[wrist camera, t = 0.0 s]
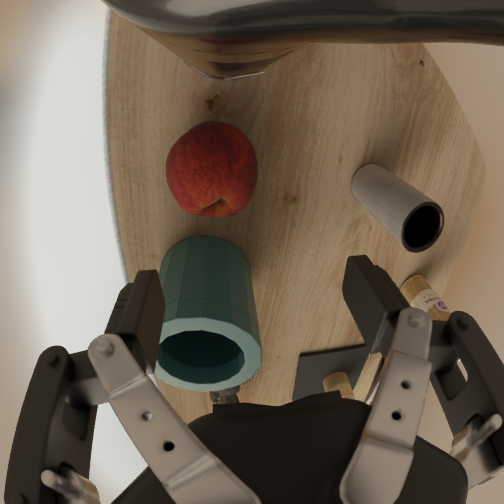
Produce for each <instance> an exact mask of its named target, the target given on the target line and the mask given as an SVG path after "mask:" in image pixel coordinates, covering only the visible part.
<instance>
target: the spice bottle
mask: <svg viewBox="0 0 504 504" xmlns="http://www.w3.org/2000/svg"><path fill="white" fill-rule="evenodd" d="M400 291H401V293H402V294H403V296H404V297H405V298H406V300H407V301H408V303H409V304H410V306H411V307H415V308H419V309H421V310H423V311H425V312H426V313H427V314H428V315H429V316H430V317H431V319H432V320H440V321H447V320H448V318H449V316H450V314H451V313H450V311H449V309H448V308H447V307H446V305H445V304H444V302H443V301H442V300H441V298H440V297H439V296H438V295H437V293H436V292H435V291H434V290H433V289H432V288H431V286H430V285H429V284H428V283H427V281H426V279H425V278H424V277H423V276H422V275H414V276H412V277H410V278H408V279H407V280H406V281H405V282H404V284H403V285H402V287H401V290H400ZM459 361H460V359H459V360H458V362H459Z"/></svg>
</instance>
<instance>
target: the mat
mask: <svg viewBox="0 0 504 504" xmlns="http://www.w3.org/2000/svg"><path fill="white" fill-rule="evenodd" d="M368 354H369V350H368V347H367V345H366V344H362V345H357V346H351V347H346V348H340V349H334V350H327V351H321V352H314V353H307V354H300V355H299V361H298V367H297V374H296V380H295V386H294V392H293V398H292V400H293V401H295V400H298V399H301V398H303V397H306V396H308V395H312V394H318V393H324V392H325V389H324V386H323V380H324V378H325V377H327V376H328V375H330V374H332V373H335V372H345V373H346V374H347V377H348V380H349V383H350V385H351V388H352V391H353V389H354V387H355V385H356V382H357V380H358V378H359V376H360V373H361V371H362V369H363V366H364V364H365V362H366V359H367V357H368Z"/></svg>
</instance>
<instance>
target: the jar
mask: <svg viewBox="0 0 504 504" xmlns="http://www.w3.org/2000/svg"><path fill="white" fill-rule="evenodd" d="M159 279H160V283H161V287H162V291H163V295H164V299H165V316H164V321H163V327H162V332H161V338H160V343H159V349H158V355H157V361H156V368H155V374H154V375H155V376H156V377H158V378H159V379H160V380H162V381H164V382H166V383H168V384H171V385H173V386H175V387H179V388H183V389H188V390H194V391H219V390H224V389H227V388H231V387H234V386H238V385H240V384H241V383H243V382H245V381H246V380H248V379H249V378H251V377H253V375H254V374H255V372H256V371H257V369H258V368H259V367H260V365H261V363H262V348H261V341H260V334H259V327H258V321H257V314H256V307H255V301H254V294H253V287H252V280H251V273H250V268H249V266H248V262H247V260H246V258H245V257H244V255H243V254H242V252H241V251H240V250H239V249H238V248H237V247H235V246H234V245H233V244H231V243H230V242H228V241H226V240H223V239H220V238H217V237H212V236H196V237H191V238H187V239H185V240H182V241H180V242H179V243H177V244H176V245H174V246H173V247H172V248H171V249H170V250H169V251H168V252H167V254H166V255H165V257H164V259H163V261H162V264H161V268H160V271H159Z"/></svg>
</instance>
